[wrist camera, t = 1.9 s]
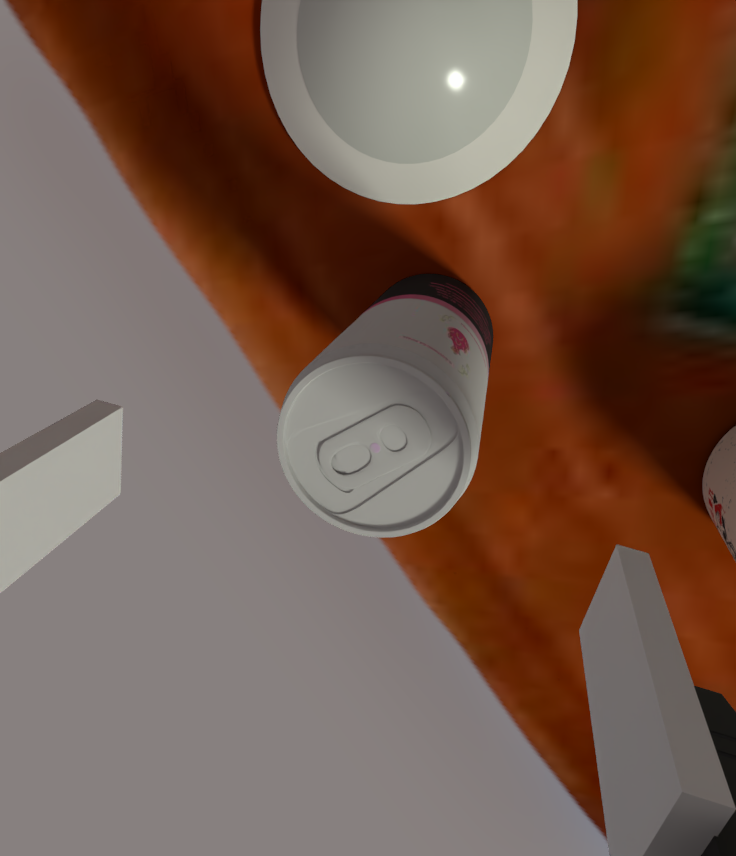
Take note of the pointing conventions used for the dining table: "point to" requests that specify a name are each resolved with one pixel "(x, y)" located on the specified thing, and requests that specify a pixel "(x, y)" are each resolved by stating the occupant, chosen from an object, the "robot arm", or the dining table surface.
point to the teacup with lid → (722, 488)
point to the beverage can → (392, 411)
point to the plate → (414, 87)
